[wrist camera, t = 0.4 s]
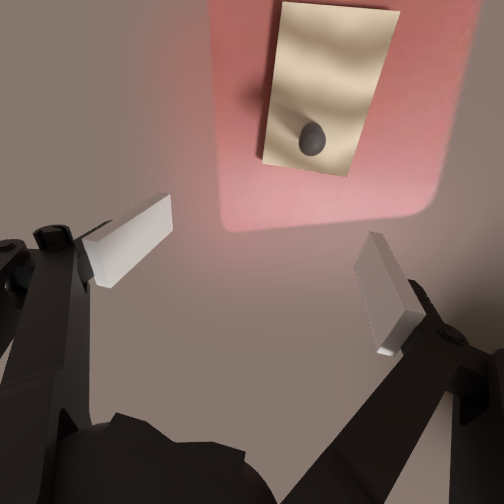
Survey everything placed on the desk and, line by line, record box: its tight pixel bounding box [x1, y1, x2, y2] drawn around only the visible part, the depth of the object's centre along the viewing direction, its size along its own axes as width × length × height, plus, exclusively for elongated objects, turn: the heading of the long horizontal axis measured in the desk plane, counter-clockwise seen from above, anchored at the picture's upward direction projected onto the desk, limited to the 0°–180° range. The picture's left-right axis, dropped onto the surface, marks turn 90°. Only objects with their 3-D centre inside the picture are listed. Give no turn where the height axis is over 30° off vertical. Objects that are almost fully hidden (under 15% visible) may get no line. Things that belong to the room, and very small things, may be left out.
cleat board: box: [262, 2, 400, 177], centre depth 28 cm, size 18×13×12 cm
